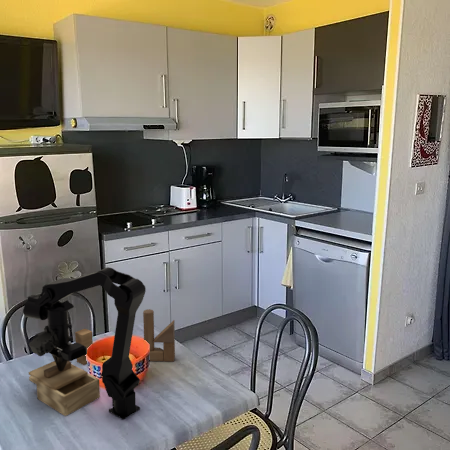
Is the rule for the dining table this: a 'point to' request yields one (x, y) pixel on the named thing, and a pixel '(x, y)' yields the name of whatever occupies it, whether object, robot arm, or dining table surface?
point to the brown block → (83, 342)
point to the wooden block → (159, 338)
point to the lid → (57, 374)
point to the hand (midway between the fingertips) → (61, 370)
